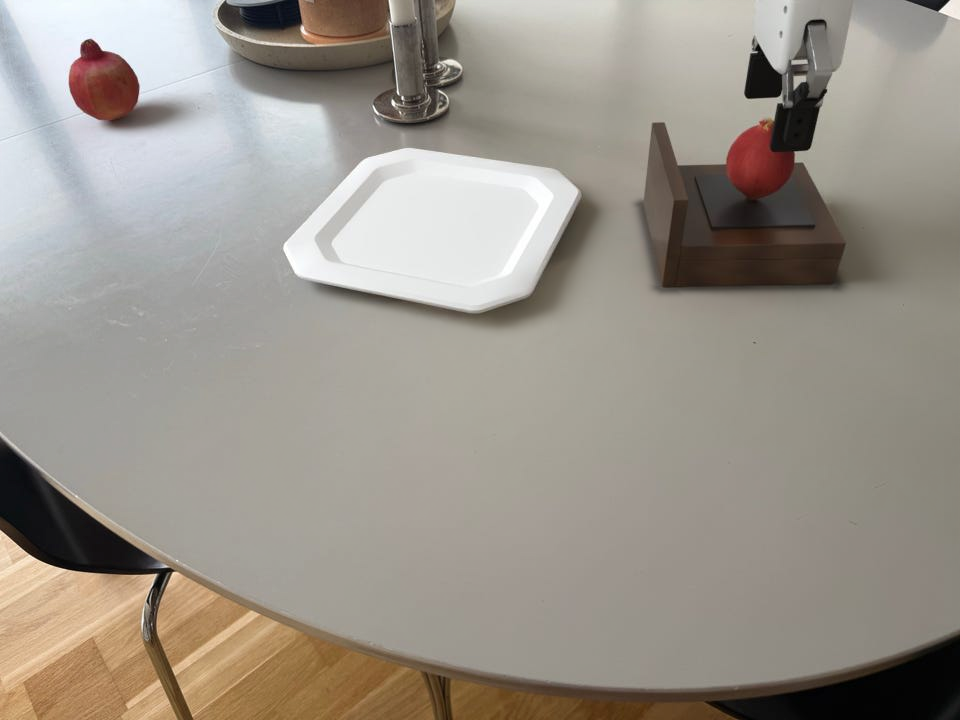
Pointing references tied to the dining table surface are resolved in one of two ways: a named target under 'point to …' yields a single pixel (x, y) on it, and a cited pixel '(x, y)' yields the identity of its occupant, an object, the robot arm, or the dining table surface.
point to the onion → (758, 162)
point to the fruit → (103, 83)
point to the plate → (437, 229)
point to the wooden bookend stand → (735, 226)
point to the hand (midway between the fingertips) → (774, 122)
